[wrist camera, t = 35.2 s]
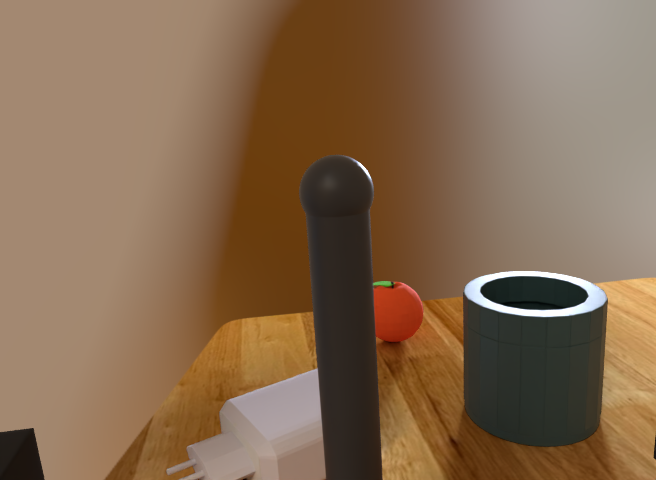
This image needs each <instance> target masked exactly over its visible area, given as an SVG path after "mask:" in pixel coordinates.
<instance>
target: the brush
mask: <svg viewBox="0 0 656 480" xmlns="http://www.w3.org/2000/svg"><path fill="white" fill-rule="evenodd" d="M299 194H300V201H301V205H302V207H303V209H304V211H305V213H306V222H307V236H308V249H309V261H310V275H311V288H312V301H313V315H314V328H315V341H316V354H317V367H318V380H319V393H320V407H321V420H322V433H323V446H324V459H325V472H326V480H383V479H382V458H381V437H380V416H379V395H378V374H377V353H376V333H375V312H374V291H373V272H372V249H371V230H370V229H371V228H370V207H371V205H372V201H373V196H374V189H373V183H372V180H371V178H370V175H369V173H368V172H367V170H366V169H365V168H364V167H363V166H362V165H361V164H360V163H359V162H357V161H356V160H354V159H352V158H350V157H347V156H343V155H330V156H326V157H323V158H321V159H319V160H317V161H316V162H314V163H313V164H312V165H311V166H310V167H309V168H308V169H307V170H306V172H305V174H304V175H303V178H302V180H301V183H300V190H299Z"/></svg>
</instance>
